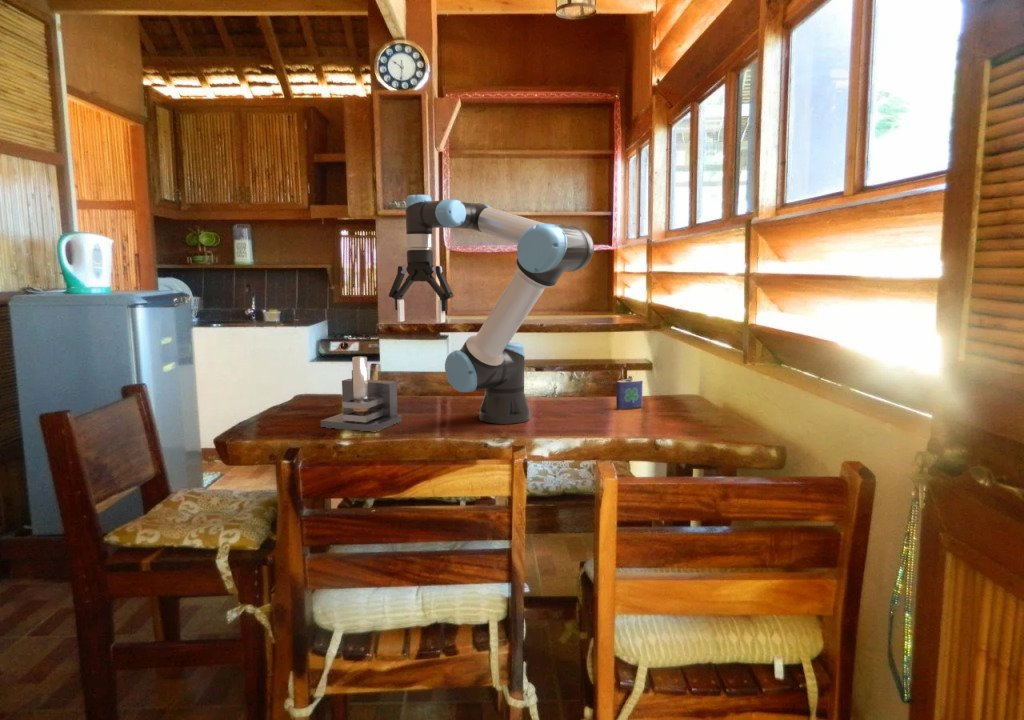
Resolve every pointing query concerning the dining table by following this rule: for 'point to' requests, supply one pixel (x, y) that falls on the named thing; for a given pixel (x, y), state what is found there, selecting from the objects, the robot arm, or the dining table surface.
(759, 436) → the dining table surface
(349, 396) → the grey slotted rack
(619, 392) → the flask
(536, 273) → the robot arm
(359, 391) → the tube
